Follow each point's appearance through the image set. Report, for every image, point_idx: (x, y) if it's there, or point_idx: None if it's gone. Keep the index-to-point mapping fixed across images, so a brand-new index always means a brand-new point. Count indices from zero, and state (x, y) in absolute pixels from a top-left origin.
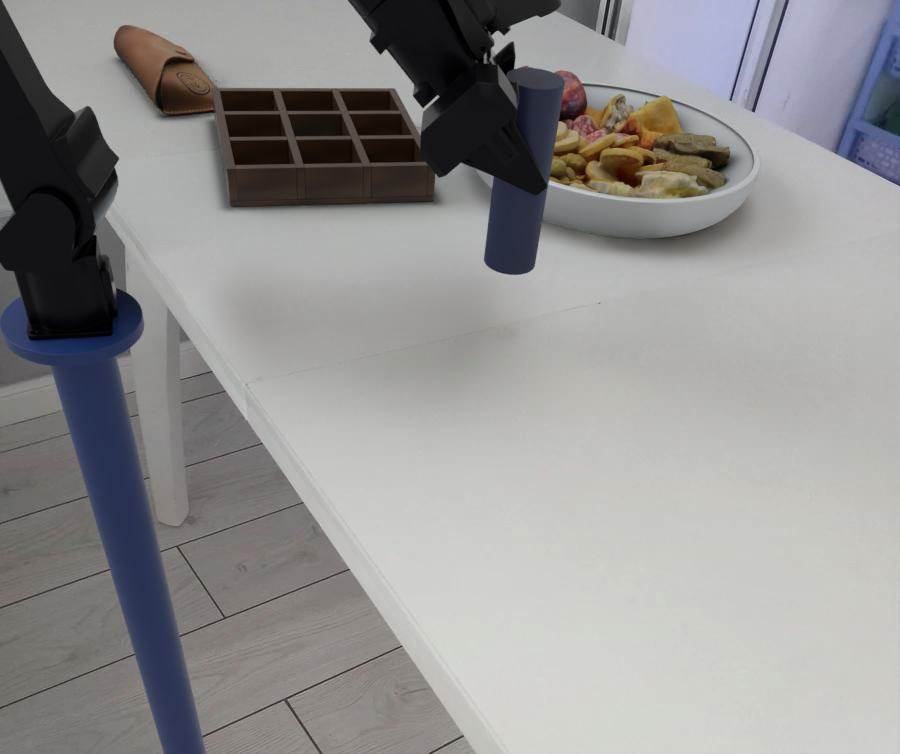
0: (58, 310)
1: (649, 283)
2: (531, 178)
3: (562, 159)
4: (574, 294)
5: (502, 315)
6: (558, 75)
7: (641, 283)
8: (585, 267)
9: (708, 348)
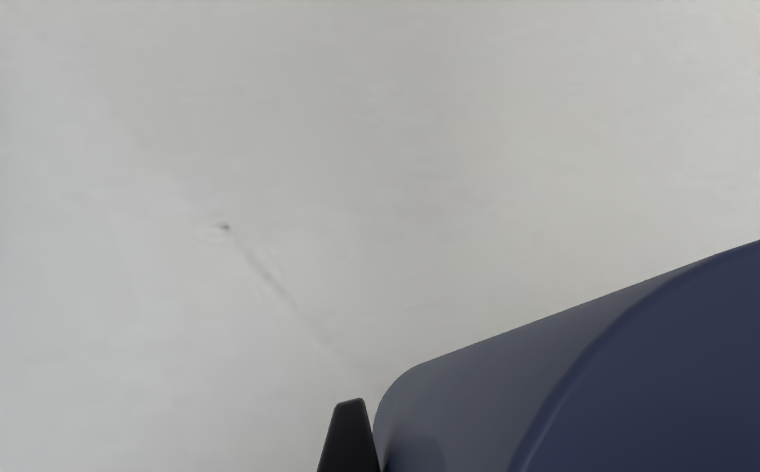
0: None
1: (96, 133)
2: None
3: None
4: (204, 286)
5: None
6: (586, 377)
7: (101, 150)
8: (63, 282)
9: (321, 9)
